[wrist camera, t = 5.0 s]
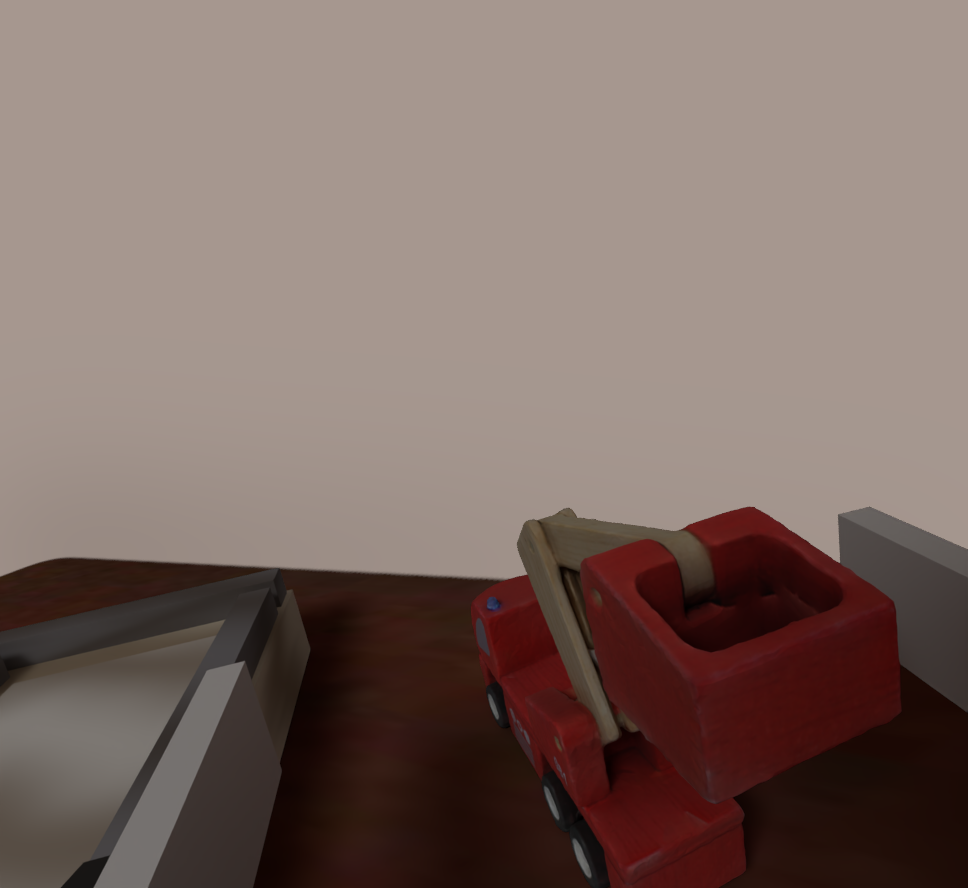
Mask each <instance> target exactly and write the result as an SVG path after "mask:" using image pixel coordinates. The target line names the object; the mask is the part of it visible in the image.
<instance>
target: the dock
mask: <svg viewBox="0 0 968 888" xmlns="http://www.w3.org/2000/svg"><path fill="white" fill-rule="evenodd" d="M309 653H310V646H309V643H308V639H307V636H306V633H305V629H304V626H303V623H302V619H301V616H300V613H299V610H298V606H297V603H296V600H295V596H294V593H293V590H288V591H286V588H285V585H284V582H283V578H282V575H281V572H280V569H279V568H276V569H271V570H267V571H263V572H258V573H254V574H250V575H245V576H241V577H237V578H232V579H228V580H224V581H219V582H215V583H211V584H206V585H202V586H198V587H193V588H189V589H185V590H180V591H176V592H172V593H167V594H163V595H159V596H154V597H150V598H146V599H141V600H137V601H133V602H128V603H124V604H120V605H115V606H111V607H107V608H102V609H98V610H94V611H89V612H85V613H81V614H76V615H72V616H68V617H63V618H59V619H55V620H50V621H46V622H42V623H37V624H33V625H29V626H24V627H20V628H15V629H11V630H7V631H2V632H0V888H61V887H62V886H63V884H64V883H65V882H66V881H67V880H68V879H69V878H70V877H71V876H72V875H73V873H74V872H75V871H76V870H77V869H78V868H79V867H80V866H81V865H82V864H83V862H87V861H90V860H94V859H98V858H102V857H105V856H109V855H111V854H112V852H113V850H114V848H115V846H116V844H117V842H118V840H119V838H120V836H121V834H122V832H123V831H124V829H125V827H126V825H127V823H128V821H129V819H130V817H131V815H132V813H133V811H134V809H135V808H136V806H137V804H138V802H139V800H140V798H141V796H142V794H143V792H144V790H145V788H146V786H147V784H148V783H149V781H150V779H151V777H152V775H153V773H154V771H155V769H156V767H157V765H158V763H159V761H160V760H161V758H162V756H163V754H164V752H165V750H166V748H167V746H168V744H169V742H170V740H171V738H172V737H173V735H174V733H175V731H176V729H177V727H178V725H179V723H180V721H181V719H182V717H183V715H184V713H185V712H186V710H187V708H188V706H189V704H190V702H191V700H192V698H193V696H194V694H195V692H196V690H197V689H198V687H199V685H200V683H201V681H202V679H203V677H204V675H205V673H206V671H207V670H210V669H214V668H218V667H222V666H226V665H230V664H235V663H239V662H243V661H245V662H246V665H247V668H248V671H249V674H250V677H251V680H252V683H253V686H254V689H255V692H256V695H257V698H258V701H259V704H260V707H261V710H262V713H263V716H264V719H265V722H266V725H267V728H268V731H269V733H270V736H271V739H272V742H273V745H274V748H275V751H276V754H277V757H278V760H279V763H280V760H281V756H282V753H283V749H284V745H285V742H286V738H287V734H288V730H289V727H290V723H291V719H292V716H293V712H294V708H295V705H296V701H297V697H298V694H299V690H300V686H301V683H302V679H303V675H304V672H305V668H306V664H307V660H308V657H309Z"/></svg>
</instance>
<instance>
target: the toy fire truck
mask: <svg viewBox="0 0 968 888" xmlns="http://www.w3.org/2000/svg"><path fill="white" fill-rule="evenodd" d="M517 548H518V551H519V554H520V557H521V559H522V562H523V565H524V567H525V569H526V572H527V574H528V575H524V576H519V577H515V578H512V579H508V580H505V581H502V582H500V583H497V584H495V585H493V586H492V587H490V588H488V589H487V590H485V591H484V592H483V593H482V594H480V595H479V596H478V597H477V598H476V599H475V600H474V601H473V602H472V605H471V616H472V623H473V629H474V634H475V638H476V642H477V646H478V649H479V650H480V654H479V658H480V665H481V669H482V673H483V676H484V680H485V684H486V693H487V698H488V701H489V705H490V708H491V711H492V714H493V716H494V718H495V720H496V722H497V723H498V725H499V726H500V727H502V728H506V727H508V726H511V731H512V732H513V734H514V736H515V737H516V739H517V740H518V743H519V744H520V746H521V748H522V749H523V751H524V753H525V754H526V755H527V757H528V759H529V761H530V762H531V765H532V766H533V767H534V769H535V771H536V773H537V774H538V776H539V778H540V779H541V781H542V789H543V791H544V796H545V799H546V801H547V804H548V806H549V809H550V811H551V813H552V816H553V818H554V820H555V823H556V825H557V826H558V827H559V828H560V829H561V830H562V831H564V832H569V831H570V833H569V834H570V839H571V844H572V848H573V851H574V854H575V856H576V859H577V862H578V864H579V866H580V868H581V871H582V873H583V875H584V876H585V878H586V880H587V882H588V883H589V884H590V886H591V887H592V888H606V887H608V886H609V885H611V888H719V887H721V886H722V885H724V884H725V883H727V882H729V881H731V880H732V879H734V878H736V877H738V876H740V875H741V874H743V873H744V872H745V871H746V856H745V847H744V831H743V826H742V822H743V819H744V816H745V814H744V812H743V810H742V808H741V807H740V805H739V804H738V803H737V802H736V801H735V800H734V799H733V797H735V796H737V795H740V794H741V793H743V792H745V791H747V790H749V789H751V788H752V787H754V786H755V785H757V784H760V783H763V782H765V781H768V780H769V779H771V778H772V777H774V776H776V775H779V774H781V773H783V772H784V771H786V770H788V769H790V768H791V767H793V766H795V765H797V764H799V763H801V762H803V761H806V760H808V759H810V758H812V757H815V756H817V755H819V754H821V753H824V752H826V751H828V750H830V749H832V748H834V747H836V746H838V745H839V744H840V743H843V742H847V741H848V740H850V739H852V738H854V737H857V736H859V735H862V734H863V733H865V732H866V731H867V730H869V729H871V728H875V727H878V726H881V725H883V724H886V723H889V722H890V721H891V720H892V719H893V718H895V717H896V716H897V715H898V714H900V713H901V712H902V709H901V698H900V692H901V685H900V661H899V651H898V629H897V621H896V608H895V604H894V601H893V600H892V599H890V598H889V597H888V596H887V595H885V594H884V593H883V592H881V591H880V590H879V589H877V588H876V587H875V586H873V585H872V584H870V583H869V582H867V581H865V580H864V579H862V578H860V577H859V576H857V575H856V574H855V573H854V572H853V571H852V570H851V569H849V568H847V567H844V566H843V565H842V564H840V563H838V562H836V561H835V560H833V559H832V558H831V557H829V556H828V555H826V554H824V553H823V552H822V551H820V550H819V549H817V548H816V547H814V546H812V545H811V544H810V543H809V542H807V541H806V540H804V539H802V538H801V537H800V536H798V535H797V534H795V533H794V532H792V531H790V530H789V529H788V528H786V527H785V526H784V525H783V524H781V523H780V522H778V521H776V520H774V519H773V518H772V517H770V516H769V515H767V514H765V513H763V512H761V511H760V510H758V509H756V508H755V507H746V508H741V509H738V510H733V511H730V512H726V513H722V514H720V515H717V516H714V517H711V518H708V519H704V520H702V521H699V522H696V523H693V524H690V525H688V526H686V527H685V528H683V529H681V530H679V531H669V530H662V529H656V528H647V527H643V526H635V525H627V524H622V523H621V524H620V523H611V522H603V521H598V520H596V519H585V518H577V516H576V515H575V513H574V512H573V510H572V509H570V508H566V509H563V510H561V511H559V512H558V513H557V514H555V515H553V516H550V517H546V518H543V519H540V520H528V521H526V522H525V523H524V525H523V528H522V531H521V533H520V536H519V539H518V542H517ZM581 816H583V817H584V819H582V820H580V817H581Z"/></svg>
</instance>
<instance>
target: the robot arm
mask: <svg viewBox="0 0 968 888" xmlns="http://www.w3.org/2000/svg"><path fill="white" fill-rule="evenodd" d="M838 523H839V544H840V564H842V565H843V566H844V567H847V568H849V569H851V570H852V571H853V572H854V573H855V574H856V575H857V576H859V577H860V578H862V579H864V580H865V581H867V582H869V583H870V584H872V585H873V586H875V587H876V588H877V589H879V590H880V591H881V592H883V593H884V594H885V595H887V596H888V597H889V598H890V599H892V600H893V601H894V604H895V608H896V621H897V629H898V651H899V661H900V664H901V665H902V666H903V667H905V668H906V669H908V670H909V671H910V672H912V673H913V674H915V675H916V676H917V677H919V678H920V679H921V680H923V681H924V682H926V683H927V684H928V685H930V686H931V687H933V688H934V689H935V690H937V691H938V692H939V693H941V694H942V695H944V696H945V697H946V698H948V699H949V700H951V701H952V702H953V703H955V704H956V705H957V706H959V707H960V708H962V709H963V710H964V711H966V712H967V713H968V549H965V548H963V547H961V546H959V545H956V544H953V543H951V542H949V541H947V540H945V539H942V538H940V537H938V536H936V535H933V534H931V533H929V532H926V531H924V530H922V529H919V528H917V527H915V526H912V525H910V524H908V523H906V522H903V521H901V520H899V519H896V518H894V517H892V516H890V515H887V514H885V513H883V512H880V511H878V510H876V509H873V508H871V507H867V508H863V509H859V510H855V511H851V512H847V513H843V514H839V515H838ZM281 773H282V769H281V766H280V763H279V760H278V757H277V754H276V751H275V748H274V745H273V742H272V739H271V736H270V733H269V731H268V728H267V725H266V722H265V719H264V716H263V713H262V710H261V707H260V704H259V701H258V698H257V695H256V692H255V689H254V686H253V683H252V680H251V677H250V674H249V671H248V668H247V665H246V662H245V661H243V662H239V663H235V664H230V665H226V666H222V667H218V668H214V669H210V670H207V671H206V673H205V675H204V677H203V679H202V681H201V683H200V685H199V687H198V689H197V690H196V692H195V694H194V696H193V698H192V700H191V702H190V704H189V706H188V708H187V710H186V712H185V713H184V715H183V717H182V719H181V721H180V723H179V725H178V727H177V729H176V731H175V733H174V735H173V737H172V738H171V740H170V742H169V744H168V746H167V748H166V750H165V752H164V754H163V756H162V758H161V760H160V761H159V763H158V765H157V767H156V769H155V771H154V773H153V775H152V777H151V779H150V781H149V783H148V784H147V786H146V788H145V790H144V792H143V794H142V796H141V798H140V800H139V802H138V804H137V806H136V808H135V809H134V811H133V813H132V815H131V817H130V819H129V821H128V823H127V825H126V827H125V829H124V831H123V832H122V834H121V836H120V838H119V840H118V842H117V844H116V846H115V848H114V850H113V852H112V854H111V855H109V856H105V857H102V858H98V859H94V860H90V861H87V862H83V864H82V865H81V866H80V867H79V868H78V869H77V870H76V871H75V872H74V873H73V875H72V876H71V877H70V878H69V879H68V880H67V881H66V882H65V883H64V884H63V886H62V887H61V888H253V885H254V881H255V877H256V873H257V869H258V865H259V861H260V857H261V853H262V849H263V845H264V841H265V837H266V833H267V829H268V825H269V821H270V817H271V813H272V809H273V805H274V801H275V797H276V793H277V789H278V785H279V781H280V777H281Z"/></svg>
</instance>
